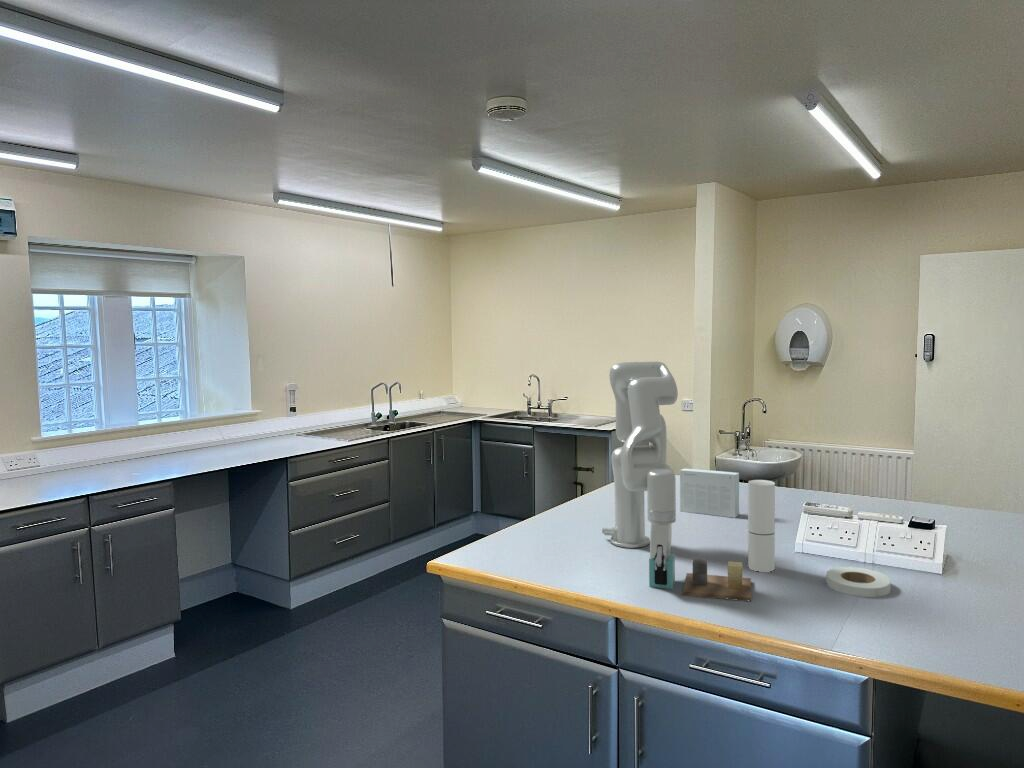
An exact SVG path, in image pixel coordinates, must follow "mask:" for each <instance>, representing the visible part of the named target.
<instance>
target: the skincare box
mask: <svg viewBox="0 0 1024 768" xmlns="http://www.w3.org/2000/svg"><path fill="white" fill-rule="evenodd" d="M679 512H683V513H692V514H699V515H700V514H701V515H709V516H717V517H725V518H735V519H736V518H737V517H738V516H739V515H740V472H734V471H724V470H712V469H711V470H709V469H697V468H682V469H679Z"/></svg>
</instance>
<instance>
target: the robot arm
mask: <svg viewBox="0 0 1024 768" xmlns="http://www.w3.org/2000/svg"><path fill="white" fill-rule="evenodd" d="M608 376H609V384H610V387H611V390H612V393H613V395H614V399H615V433H616V434H615V435H616V437H617V439H618V441H619V442H622V443H623V445H622V446H620V447H617V448H615V449H614V450H613V451H612V454H611V456H610V457H611V458H610V459H611V466H612V467H611V468H612V472H613V473H612V474H613V481H614V482H613V485H614V522H615V523H614V525H615V526H614V527H612V528H608V527H602V529H601V532H602V533H601V534H603V535H604V536H611V537H610V543H611V544H612V545H614V546H617V547H620V548H629V549H635V548H642V547H643V548H644V547H646V546H648V545H649V558H651V559H653V558H654V557H655V584H659V585H667V570H666V560H667V559H668V558H669V555H670V553H671V551H672V541H673V540H672V537H673V536H672V534H673V533H672V532H673V531H672V529H673V528H672V526H673V525H672V524H674V523H676V521H677V520H676V519H677V513H676V511H677V510H676V509H677V505H676V504H677V503H676V497H677V496H676V494H677V493H676V490H677V489H676V488H677V487H676V482H677V481H676V474H675V472H674V469H672V467H671V466H670V465H668V464H667V425H666V424H667V423H666V421H665V418H664V416H663V415H662V414H661V411H660V410H661V409H660V406H670V405H674V404H675V403H676V402H677V399H678V395H679V393H678V386H677V382H676V380H675V377H674V375H673V374H672V373H671V371H670V370H669V367H668V366H667V365H666V364H665V363H664V362H662V361H628V362H627V361H626V362H619V363H615V364H613V365H612V366H611V367H610V370H609V375H608ZM638 443H650V445H637V444H638ZM645 492H646V493H647V496H646V498H647V499H646V500H647V522H649V523H650V532H649V533H650V537H649V536H647V535H645V533H646V532H645V531H646V528H645V527H646V524H645V523H646V519H645ZM662 556H663V557H664V559H663V558H662ZM662 561H664V564H663V563H662Z"/></svg>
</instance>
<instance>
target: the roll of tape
mask: <svg viewBox="0 0 1024 768" xmlns="http://www.w3.org/2000/svg"><path fill="white" fill-rule="evenodd" d="M825 581H826V583H827V584H826V583H825V584H826V585H827V586H828V588H830V589H832V590H833V589H834V591H835V592H838V593H842V594H845V595H849V596H855V597H862V598H877V597H884V596H887V595H889V594H890V593H891V589H892V581H891V579H890V578H889V577H888V576H887V575H885V574H883V573H882V572H878V571H877V570H874V569H869V568H863V567H854V566H839V567H832V568H830V569H829V570H827V571H826V574H825Z"/></svg>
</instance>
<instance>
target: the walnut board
mask: <svg viewBox="0 0 1024 768" xmlns="http://www.w3.org/2000/svg"><path fill="white" fill-rule="evenodd" d="M683 583H684V584H683V588H682V596H687V597H688V596H689V597H698V596H701V597H700V598H709V597H715V598H714V599H719V598H728V599H727V600H730V599H737V600H736V601H741V600H749V601H748V602H752V578H751V577H750V578H749V577H742V589H732V588H728V575H718V574H717V575H716V574H715V575H714V574H708V559H702V558H693V559H692V573H691V572H690V573H689V572H687V573H686V574H685V580H684V582H683Z"/></svg>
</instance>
